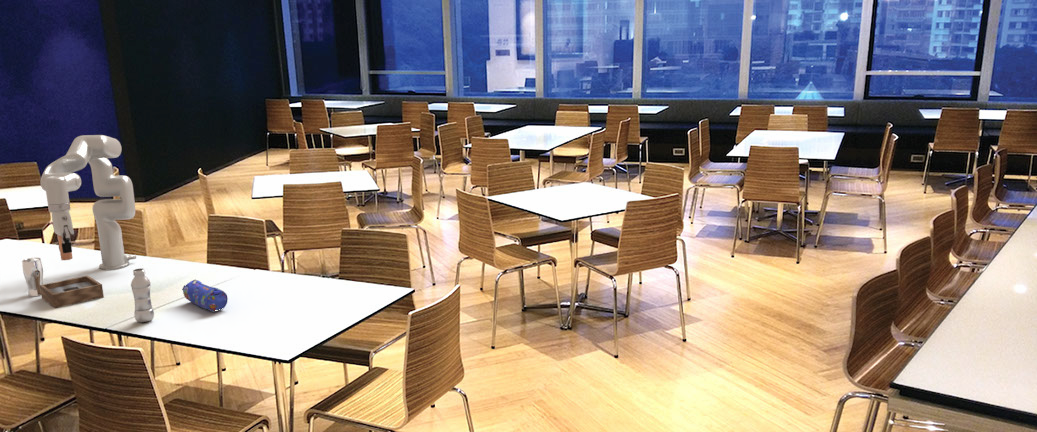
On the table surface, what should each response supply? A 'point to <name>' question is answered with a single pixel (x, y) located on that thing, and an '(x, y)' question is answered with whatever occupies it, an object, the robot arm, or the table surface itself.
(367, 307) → the table surface
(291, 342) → the table surface
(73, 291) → the bore box
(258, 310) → the table surface
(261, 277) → the table surface
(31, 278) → the beer glass
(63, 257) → the peg
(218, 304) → the pencil case
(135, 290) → the plastic bottle
